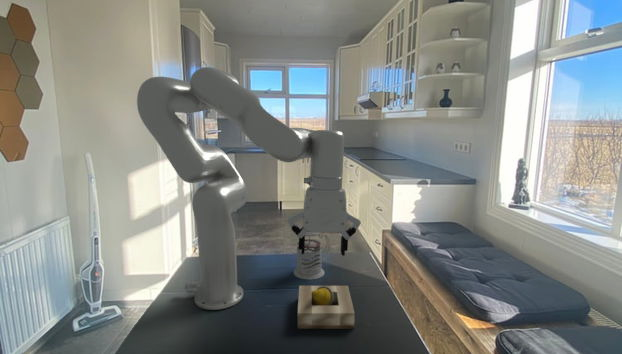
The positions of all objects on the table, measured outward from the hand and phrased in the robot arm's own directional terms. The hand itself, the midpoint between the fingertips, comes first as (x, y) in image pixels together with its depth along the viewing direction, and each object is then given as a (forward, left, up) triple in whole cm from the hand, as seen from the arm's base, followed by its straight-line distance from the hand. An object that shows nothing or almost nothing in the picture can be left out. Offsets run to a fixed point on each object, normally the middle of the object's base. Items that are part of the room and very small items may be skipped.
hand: (322, 252), depth 80 cm
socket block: (+1, 0, -16) cm, 16 cm away
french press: (-2, +23, -16) cm, 28 cm away
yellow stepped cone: (0, 0, -15) cm, 15 cm away
